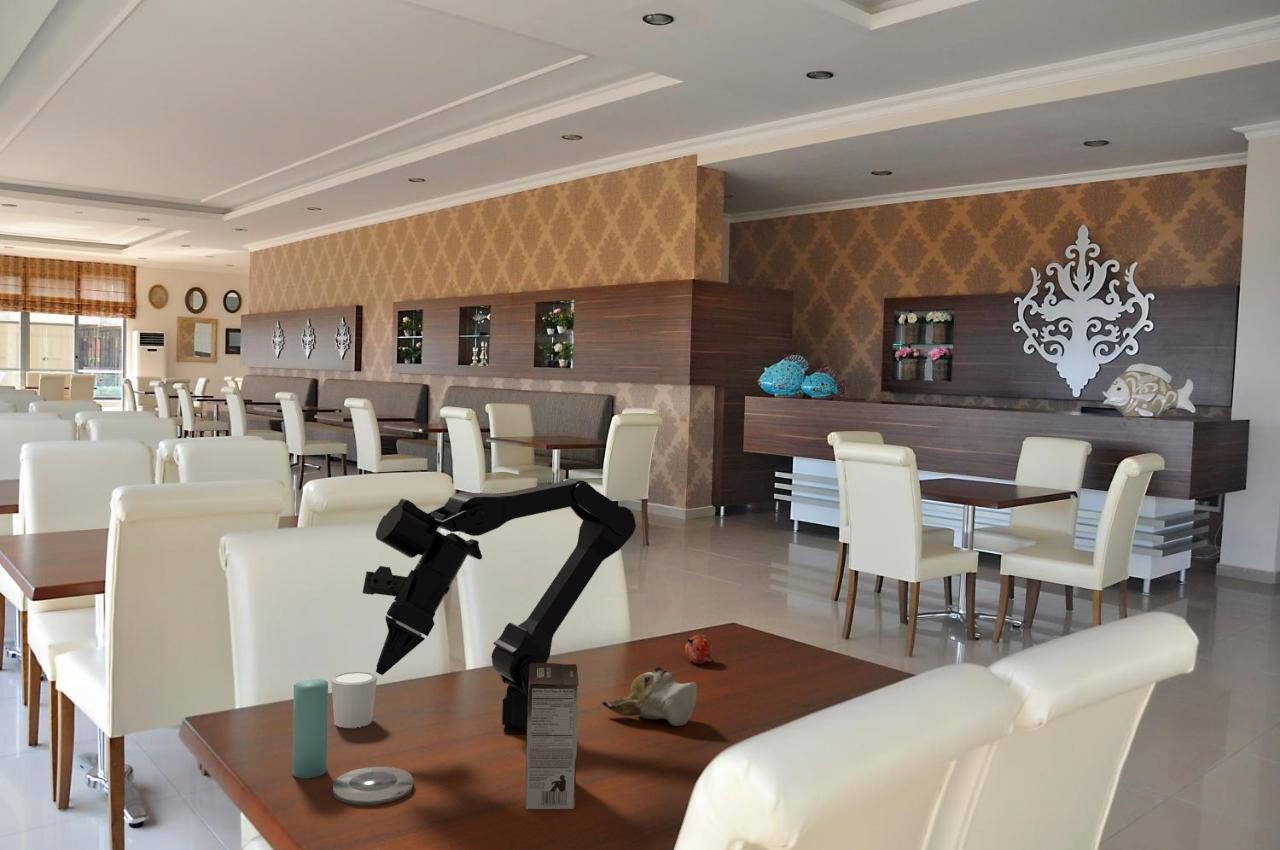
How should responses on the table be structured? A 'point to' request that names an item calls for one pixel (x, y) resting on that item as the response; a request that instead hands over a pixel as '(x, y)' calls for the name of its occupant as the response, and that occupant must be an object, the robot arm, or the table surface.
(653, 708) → the ceramic sculpture
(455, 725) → the table surface
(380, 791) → the hub disc
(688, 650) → the pomegranate
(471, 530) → the robot arm
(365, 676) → the white candle cup
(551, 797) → the coffee box
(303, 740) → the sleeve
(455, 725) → the table surface
